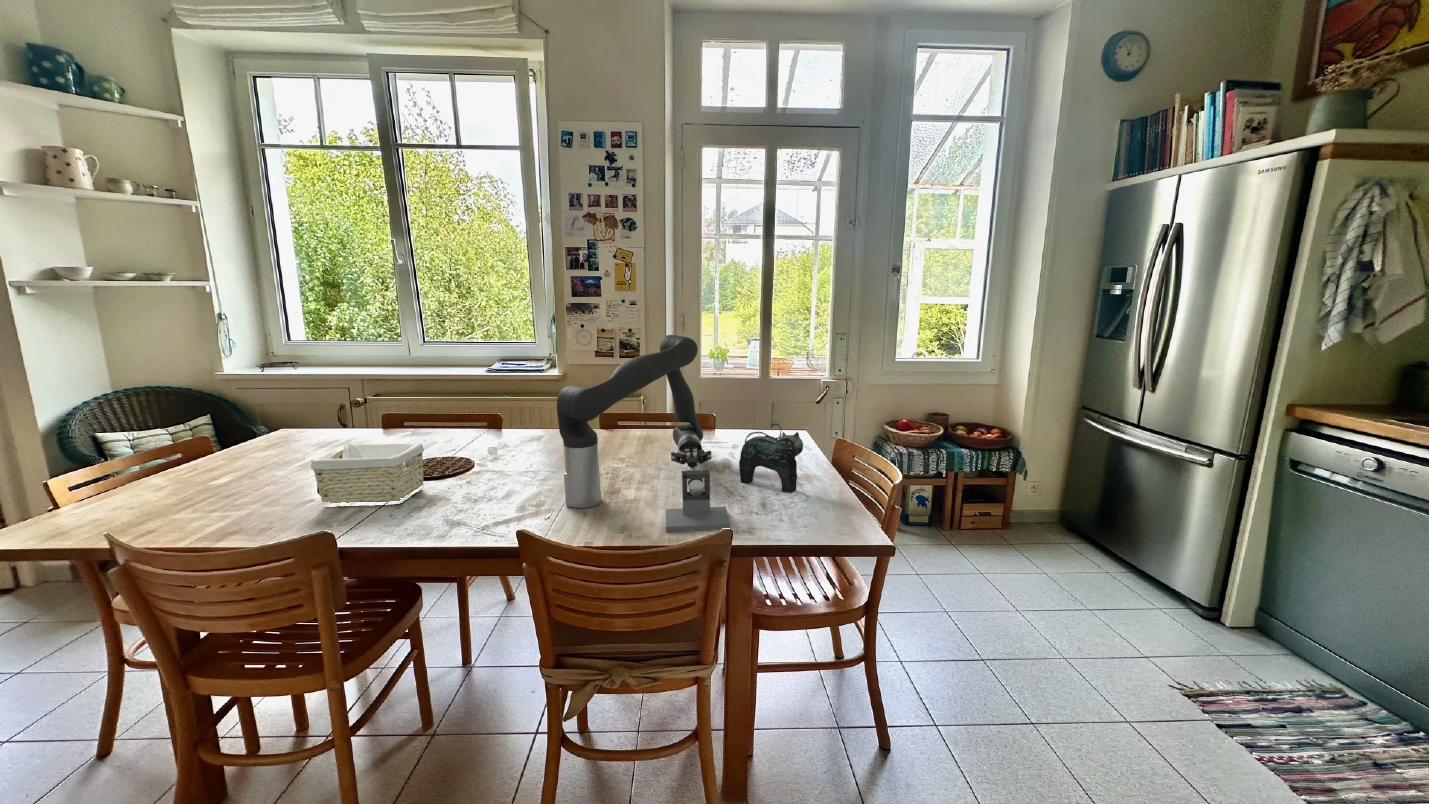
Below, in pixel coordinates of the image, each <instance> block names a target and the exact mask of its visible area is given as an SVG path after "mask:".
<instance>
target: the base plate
mask: <svg viewBox="0 0 1429 804" xmlns="http://www.w3.org/2000/svg"><path fill="white" fill-rule="evenodd" d="M728 514H729V513H728V510H727V507H726V506H724V505H723V506H711V499H710V500H687V501H683V500H682V508H681V507H680V508H666V509H665V533H679V532H680V533H681V532H682V533H683V532H686V533H687V532H701V531H702V532H703V531H721V530H720V529H722V528H730V529H731V521H730V518H729V515H728Z"/></svg>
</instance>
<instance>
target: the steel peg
mask: <svg viewBox="0 0 1429 804" xmlns="http://www.w3.org/2000/svg"><path fill="white" fill-rule="evenodd" d="M695 470H701V469H700V468H698V467H697V466H695V467H693V468H690V467H689V469H688V470H687V471H695ZM687 489H688V492H690V494H692V495H693V496H699V495H701V494H702V493H703V492H704V491H705V490H704V478H703V479H687Z"/></svg>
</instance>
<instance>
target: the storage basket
mask: <svg viewBox="0 0 1429 804" xmlns="http://www.w3.org/2000/svg"><path fill="white" fill-rule="evenodd" d="M424 449H425V448H424V446H423V444H422V443H421V442H395V443H394V442H393V443H392V442H391V443H347V444H343V445H341V446H338V447H336V448H334V449H331V450H329V451H326V452H325V453H324V452H323V453H322V454H320V455H318V456H316V457H313V458H311V459H310V461H311V464H310V470H313V472H314V477H315V481H316V486H317V488H318V493H319V495H320V499H321V502H330V503H341V502H346V503H349V502H388V501H400V500H401V499H400V498H404V497H405V496H406V495H409V494H410V493H411V492H413V491H414V490H416V489H418V488H419V487H420V486H422V485H423V486H424V467H423V466H424V464H423V460H424V458H423V457H424V456H423V452H424V451H425V450H424Z"/></svg>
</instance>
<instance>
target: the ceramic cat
mask: <svg viewBox="0 0 1429 804" xmlns="http://www.w3.org/2000/svg"><path fill="white" fill-rule="evenodd" d="M773 426H777V427H779V429H780V431H779V436H778V437H774V436H771V435H769V434H767V433H765V432H762V431H754V432H750V433H749V434H747V436H746V437H745V440H744V444H743V446H742V447H741V450H740V456H739V461H738V467H739V468H738V469H739V478H740V483H742V484H746V485H751V484H752V483H753V481H754V476H755V475H754V473H755V471H756V468H758V467H762V468H765V469H768V470H772V471H775V472H776V473H777V475H778V476H779V480H780V483H781V492H782V493H788V492H790V493H789V494H793V493H795V492H796V491H797V482H798V473H797V471H798V469H797V467H798V464H797V460H796V457H797V456H799V455H800V454H801V453H802V452H803V450H804V442H803V440H802V439H801V437H800V434H799V432H798V431H796V432H795V433H794V434H786V433H785V432H784V431H782V427H781V425H780V424H779V423H775V422H774V423H772V424H771V425H770V428H772V427H773ZM754 434H763V435H764V436H762V435H757V436H754V437H751V435H754ZM749 437H751V438H750V439H748V438H749ZM747 439H748V440H747ZM795 490H796V491H795ZM792 492H793V493H792Z"/></svg>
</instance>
